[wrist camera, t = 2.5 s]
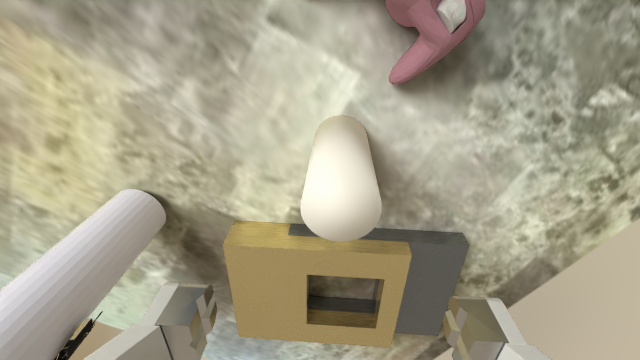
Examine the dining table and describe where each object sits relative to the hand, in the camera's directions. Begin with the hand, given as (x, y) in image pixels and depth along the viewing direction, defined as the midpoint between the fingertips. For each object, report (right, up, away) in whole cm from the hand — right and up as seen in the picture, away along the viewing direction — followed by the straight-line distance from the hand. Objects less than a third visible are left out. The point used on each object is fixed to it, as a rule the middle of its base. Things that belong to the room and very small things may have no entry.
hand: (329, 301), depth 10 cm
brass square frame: (+2, -5, +19) cm, 20 cm away
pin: (+1, +7, +12) cm, 14 cm away
